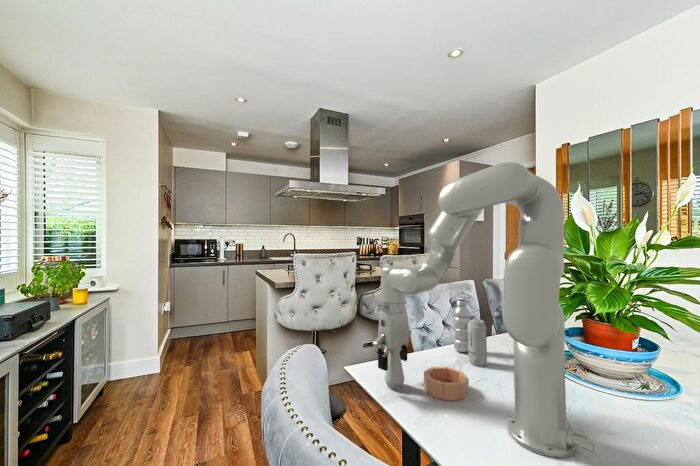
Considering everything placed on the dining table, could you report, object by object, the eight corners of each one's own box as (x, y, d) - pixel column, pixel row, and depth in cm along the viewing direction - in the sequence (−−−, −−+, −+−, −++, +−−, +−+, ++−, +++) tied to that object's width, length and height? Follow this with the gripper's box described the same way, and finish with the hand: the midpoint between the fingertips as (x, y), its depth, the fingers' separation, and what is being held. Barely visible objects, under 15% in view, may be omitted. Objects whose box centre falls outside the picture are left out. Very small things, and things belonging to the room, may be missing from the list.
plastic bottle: (474, 354, 114) (473, 301, 115) (457, 354, 114) (455, 302, 115) (468, 348, 121) (467, 298, 121) (451, 348, 121) (450, 298, 122)
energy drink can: (465, 360, 108) (464, 319, 109) (482, 360, 109) (481, 318, 109) (473, 367, 102) (472, 323, 103) (490, 367, 103) (489, 323, 103)
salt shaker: (404, 392, 86) (403, 346, 86) (384, 390, 87) (383, 345, 87) (404, 382, 92) (404, 340, 92) (385, 381, 93) (385, 339, 93)
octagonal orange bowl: (474, 389, 87) (474, 374, 87) (456, 406, 78) (455, 389, 78) (437, 377, 95) (437, 363, 95) (416, 390, 87) (416, 375, 87)
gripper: (385, 314, 81) (384, 377, 81) (419, 304, 94) (419, 359, 93) (364, 309, 87) (364, 369, 86) (399, 301, 99) (399, 353, 99)
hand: (393, 364), depth 90 cm, fingers open, 9 cm apart
